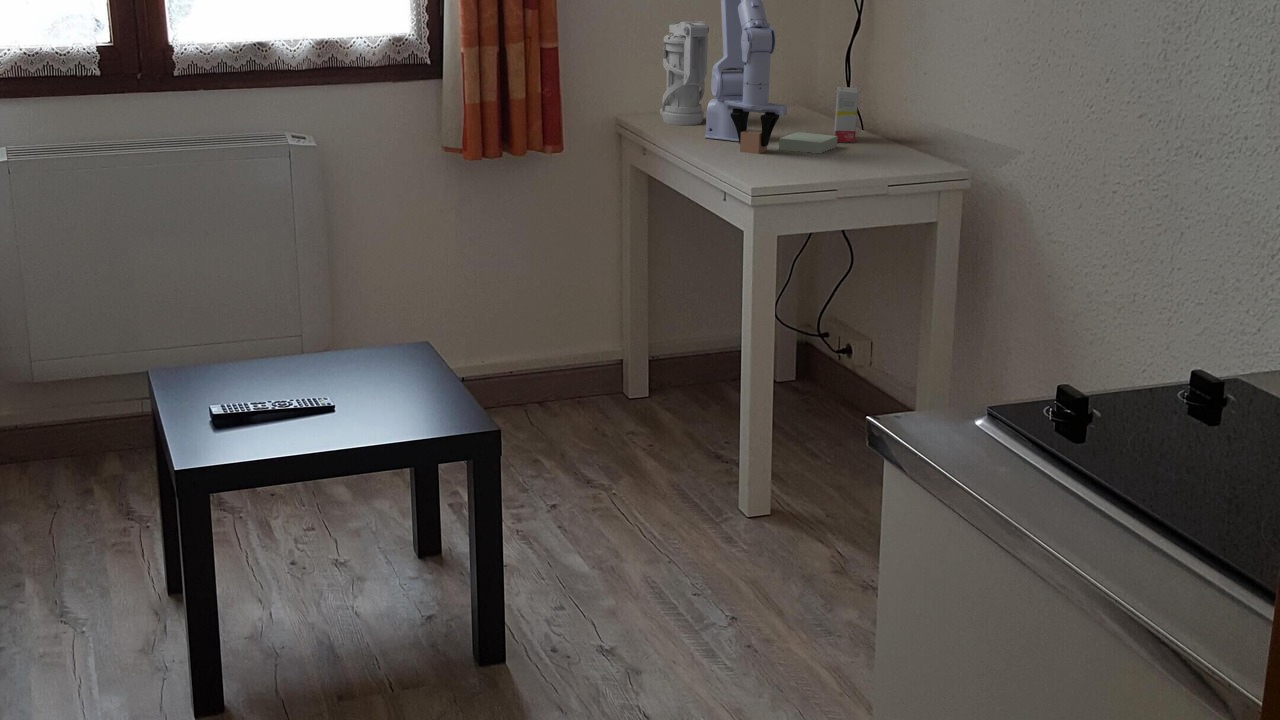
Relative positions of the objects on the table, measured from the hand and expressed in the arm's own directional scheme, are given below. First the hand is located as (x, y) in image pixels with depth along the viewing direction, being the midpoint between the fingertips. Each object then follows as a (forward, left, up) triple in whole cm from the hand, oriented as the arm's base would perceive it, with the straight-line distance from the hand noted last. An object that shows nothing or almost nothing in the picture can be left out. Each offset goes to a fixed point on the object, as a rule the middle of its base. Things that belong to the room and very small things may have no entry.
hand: (753, 144), depth 304 cm
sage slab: (+9, +10, -1) cm, 14 cm away
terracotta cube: (0, 0, -2) cm, 2 cm away
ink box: (+12, +25, -2) cm, 28 cm away
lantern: (-30, +25, -2) cm, 39 cm away
